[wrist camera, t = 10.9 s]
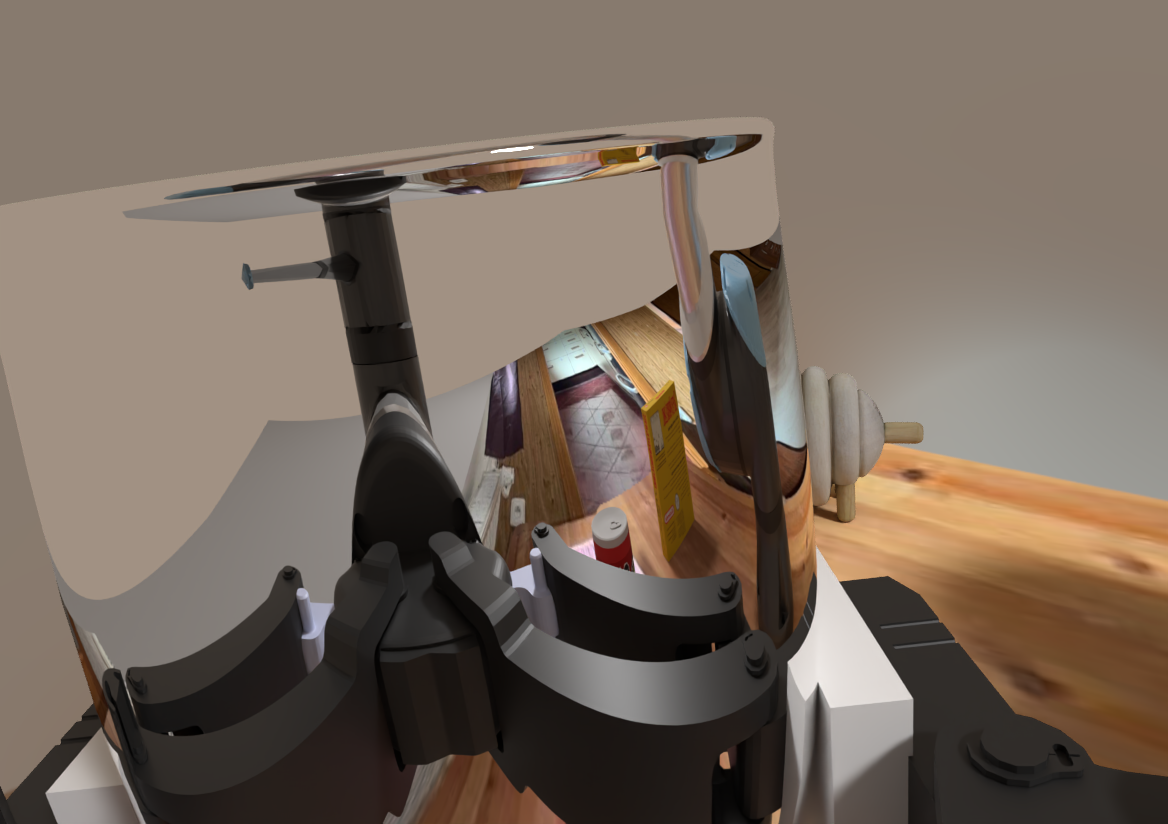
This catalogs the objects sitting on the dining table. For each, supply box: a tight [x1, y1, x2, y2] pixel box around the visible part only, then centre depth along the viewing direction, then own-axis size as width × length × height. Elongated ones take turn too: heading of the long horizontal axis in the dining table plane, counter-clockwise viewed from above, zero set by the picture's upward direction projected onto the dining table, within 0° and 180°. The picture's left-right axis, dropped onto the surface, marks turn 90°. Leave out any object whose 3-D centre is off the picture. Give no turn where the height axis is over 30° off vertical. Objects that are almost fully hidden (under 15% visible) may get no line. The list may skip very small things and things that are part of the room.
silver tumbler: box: [0, 117, 818, 824], centre depth 9 cm, size 7×7×15 cm
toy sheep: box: [800, 366, 923, 522], centre depth 57 cm, size 11×17×11 cm, turn 79°
